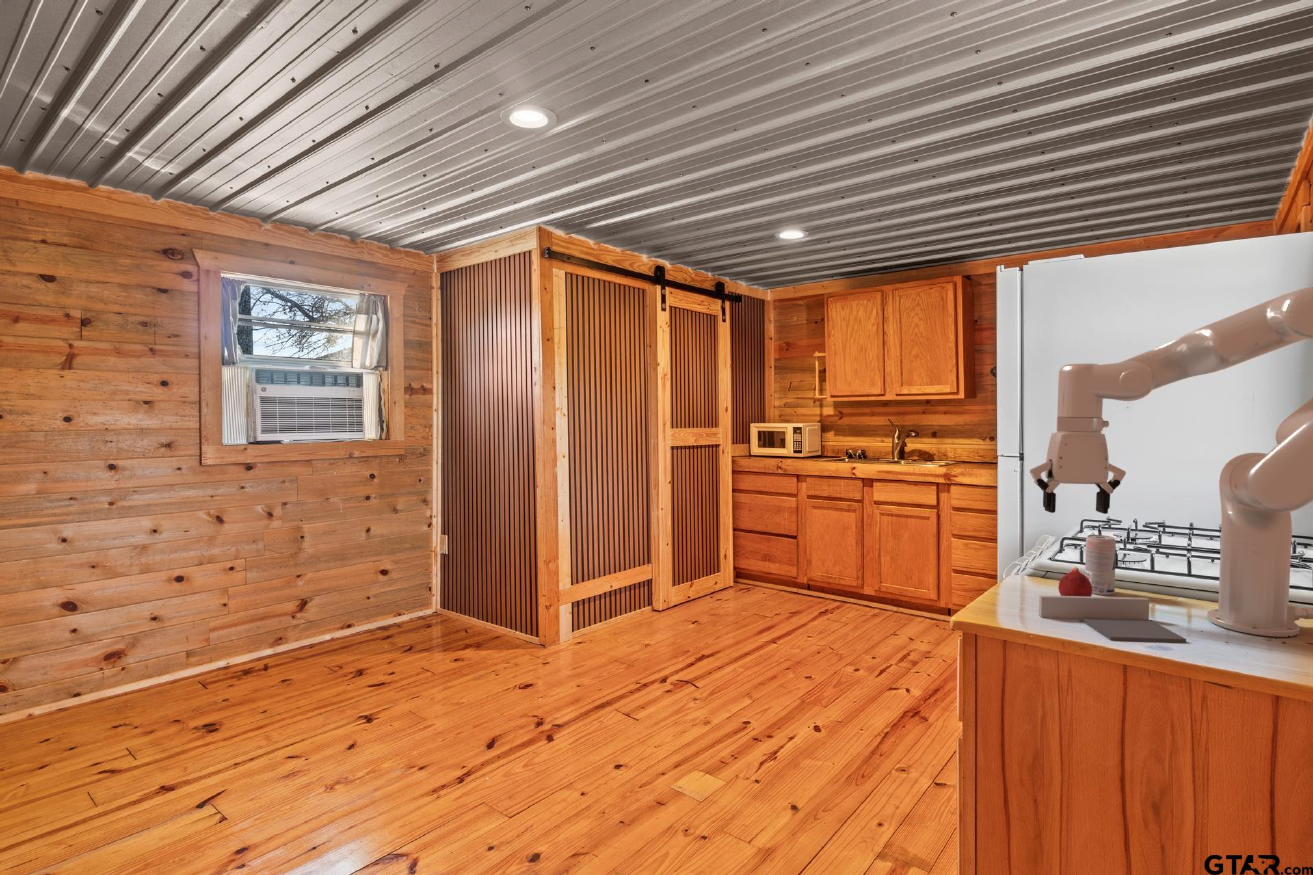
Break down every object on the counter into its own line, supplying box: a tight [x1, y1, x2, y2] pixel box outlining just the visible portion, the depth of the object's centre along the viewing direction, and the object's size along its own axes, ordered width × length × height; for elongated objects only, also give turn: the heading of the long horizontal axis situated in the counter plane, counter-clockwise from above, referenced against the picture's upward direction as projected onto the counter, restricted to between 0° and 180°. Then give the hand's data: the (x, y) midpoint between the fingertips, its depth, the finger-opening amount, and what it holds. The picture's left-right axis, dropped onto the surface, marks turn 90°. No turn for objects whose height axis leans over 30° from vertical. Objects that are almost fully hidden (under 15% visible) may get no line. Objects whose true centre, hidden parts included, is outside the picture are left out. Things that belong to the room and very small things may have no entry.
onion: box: [1058, 566, 1093, 597], centre depth 134 cm, size 6×6×8 cm
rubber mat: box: [1081, 618, 1187, 644], centre depth 120 cm, size 12×10×1 cm
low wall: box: [1038, 594, 1150, 620], centre depth 127 cm, size 19×1×4 cm, turn 83°
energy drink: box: [1084, 534, 1117, 596], centre depth 144 cm, size 5×5×12 cm
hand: (1075, 512), depth 133 cm, fingers open, 9 cm apart
